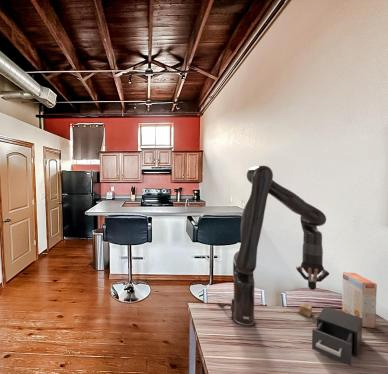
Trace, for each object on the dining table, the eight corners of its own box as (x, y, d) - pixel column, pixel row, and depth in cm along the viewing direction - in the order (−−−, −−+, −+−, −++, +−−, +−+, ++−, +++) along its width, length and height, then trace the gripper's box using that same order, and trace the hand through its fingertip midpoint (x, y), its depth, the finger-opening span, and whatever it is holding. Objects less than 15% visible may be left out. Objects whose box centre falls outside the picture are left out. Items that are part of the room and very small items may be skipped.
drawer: (348, 373, 80) (348, 351, 80) (308, 354, 89) (308, 334, 89) (356, 349, 92) (356, 329, 92) (320, 334, 101) (320, 317, 101)
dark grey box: (356, 356, 89) (357, 332, 89) (316, 339, 99) (316, 317, 99) (361, 340, 99) (362, 318, 98) (324, 326, 108) (324, 306, 108)
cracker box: (376, 329, 106) (377, 283, 106) (361, 327, 108) (362, 282, 107) (354, 312, 120) (355, 272, 120) (341, 311, 121) (342, 271, 121)
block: (299, 313, 119) (299, 305, 119) (302, 310, 121) (302, 302, 121) (309, 317, 116) (309, 309, 115) (311, 314, 118) (311, 306, 118)
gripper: (328, 252, 109) (327, 289, 109) (294, 248, 115) (294, 283, 115) (332, 256, 102) (331, 295, 102) (296, 252, 109) (295, 289, 109)
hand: (311, 289), depth 109 cm, fingers closed
